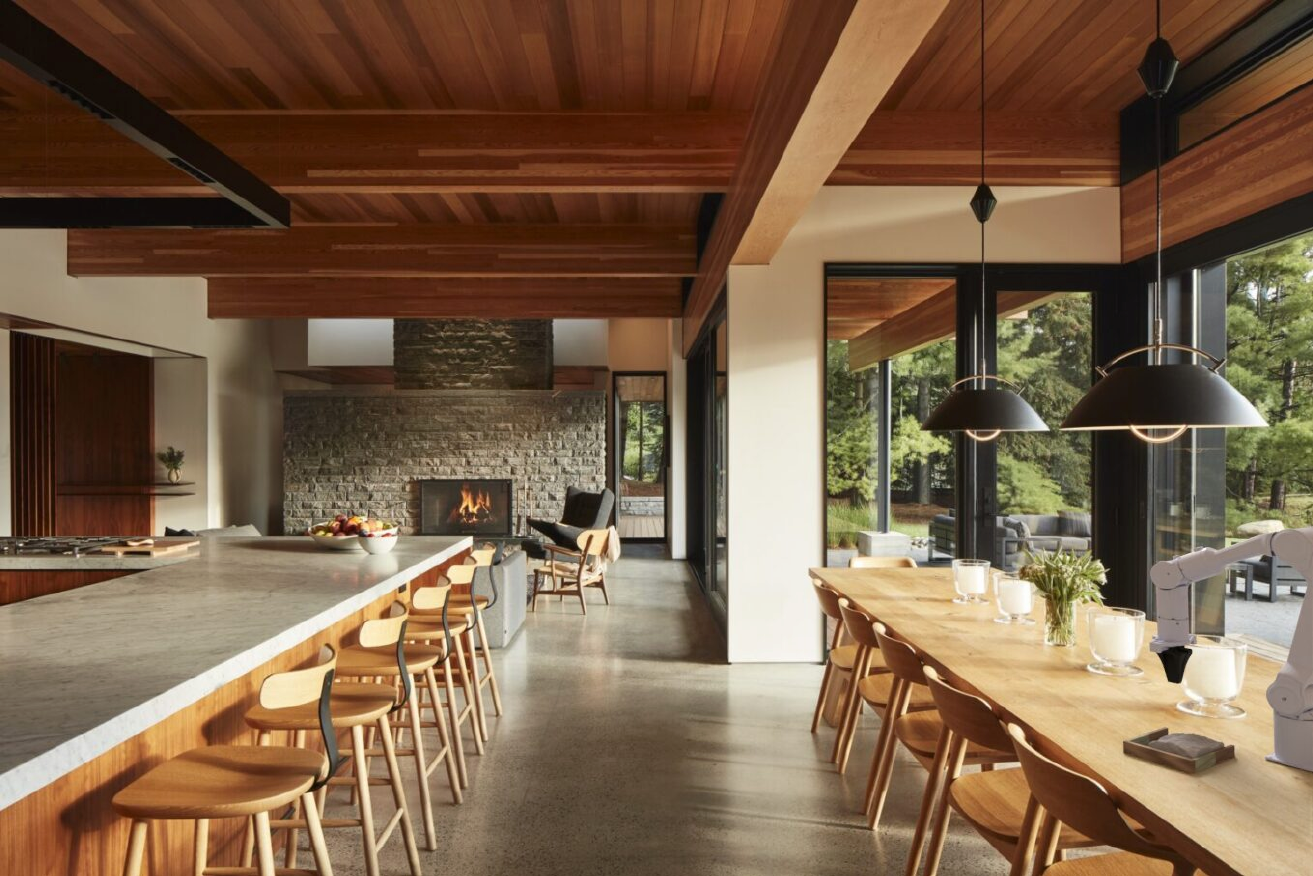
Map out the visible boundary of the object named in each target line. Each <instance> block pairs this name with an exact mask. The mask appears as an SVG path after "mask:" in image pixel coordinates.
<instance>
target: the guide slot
mask: <svg viewBox="0 0 1313 876" xmlns="http://www.w3.org/2000/svg"><path fill="white" fill-rule="evenodd" d="M1166 735H1170V733H1169V727H1165V726H1164V727H1161V728H1158V729H1156V730H1152V731H1150V732H1147V733H1143V734H1140V735H1138V736H1134V737H1131V738H1127V739H1125V740H1123V741H1122V752H1123V753H1124V754H1127V755H1130V756H1135V757H1137V758H1140V759H1144V760H1147V761H1151V762H1154V763H1158V764H1161V765H1162V766H1163V765H1164V766H1168V767H1171V768H1173V769H1177V770H1181V771H1184V772H1187V773H1191V774H1195V773H1198V772H1201V771H1202V770H1205V769H1208V768H1210V767H1213V766H1215V765H1218V764H1221V763H1223V762H1227V761H1228V760H1231V759H1233V758H1235V757H1236V753H1235V752H1236V751H1235V745H1234V744H1229V745H1226V746H1224V747H1223V748H1221V749H1218V750H1215V751H1213V752H1210V753H1207V754H1204V755H1202V756H1199V757H1196V758H1194V759H1190V758H1186V757H1183V756H1179V755H1176V754H1172V753H1169V752H1165V751H1162V750H1158V749H1155V748H1152V747H1148V745H1149V742H1151V741H1158V740H1159V739H1160V738H1161V737H1163V736H1166Z"/></svg>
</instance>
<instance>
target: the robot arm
mask: <svg viewBox="0 0 1313 876" xmlns="http://www.w3.org/2000/svg"><path fill="white" fill-rule="evenodd" d="M1261 555H1264V556H1267V557H1271V558H1273V557H1277V558H1278V559H1279V560H1280V561H1282V562H1283V563H1285V564H1286V565H1288V566H1290V567H1291V568H1293V569H1294V570H1295V571H1297V572H1298V573H1299V574H1300V575H1301V577H1302V578H1303V579H1304V580H1305V581H1306V583H1307V586H1306V590H1305V594H1304V597H1303V601H1302V605H1301V608H1300V612H1299V616H1298V619H1297V622H1296V626H1295V630H1294V633H1293V636H1292V641H1291V644H1290V647H1289V650H1288V655H1287V659H1286V662H1285V663H1284V664H1283V665H1282V666H1281V668H1280V670H1279V671H1278V672H1277V673H1276V675H1277V676H1276V678H1275V680H1273V682H1271V684H1269V685H1268V687H1267V688H1266V691H1265V697H1266V701H1267V703H1268V705H1269V706H1270V707H1271V709H1272V710H1273V712H1272V716H1273V743H1274V744H1273V745H1274V749H1273V750H1274V752H1272V753H1270V754H1267V755H1265V756H1264V759H1265V760H1267V761H1272V762H1275V763H1278V764H1279V763H1280V764H1282V765H1286V766H1290V767H1293V768H1298V769H1301V770H1304V771H1308V772H1311V773H1313V525H1312V526H1311V525H1309V526H1304V527H1299V528H1285V529H1284V528H1283V529H1281V530H1280V531H1278V530H1277V531H1274V532H1266V533H1262V534H1258V535H1255V536H1252V537H1250V538H1248V539H1245V540H1243V541H1240V542H1237V543H1234V544H1232V545H1228V546H1227V547H1223V548H1221V549H1215V548H1213V547H1207V546H1205V547H1204V546H1202V545H1201V546H1198V547H1193V551H1192V552H1189V553H1187V554H1183V555H1180V554H1176V555H1173V556H1172V560H1160V561H1158V562H1157V563H1155V564H1154V565H1152V566H1151V569H1150V571H1149V576H1150V577H1149V578H1150V580H1151V582H1152V583H1153V585H1155V592H1156V598H1155V599H1156V623H1157V624H1156V630H1157V631H1156V632H1157V634H1154V635H1152V636H1151V638H1152V641H1149V652H1153V653H1156V655H1157V656H1158V658H1159V660H1160V661H1161V664H1162V667H1163V669H1164V672H1165V677H1166V680H1167V682H1168V683H1172V684H1176V685H1177V684H1178V685H1179V684H1182V681H1183V678H1184V674H1185V671H1186V668H1187V663H1188V662H1189V660H1190V658H1191V656H1192V655H1193V652H1194V651H1193V649H1192V648H1189V647H1185V646H1189V645H1194V646H1195V645H1197V644H1198V643H1197V642H1198V640H1197V639H1198V637H1197V635H1196V634H1192V633H1190V619H1189V616H1190V615H1189V594H1188V593H1189V586H1190V585H1191V584H1193V583H1197V582H1199V581H1202V580H1205V579H1209V578H1212V577H1215V576H1219V575H1222V574H1223V573H1224V571H1225V570H1226V567H1227V565H1231V564H1234V563H1237V562H1241V561H1244V560H1248V559H1251V558H1255V557H1258V556H1261Z"/></svg>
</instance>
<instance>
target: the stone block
mask: <svg viewBox="0 0 1313 876" xmlns="http://www.w3.org/2000/svg"><path fill="white" fill-rule="evenodd" d="M1148 747H1152V748H1155V749H1158V750H1162V751H1165V752H1169V753H1172V754H1176V755H1179V756H1183V757H1186V758H1190V759H1194V758H1196V757H1199V756H1202V755H1204V754H1207V753H1210V752H1213V751H1215V750H1218V749H1221V748H1223V747H1225V743H1224V742H1223V741H1217V740H1215V739H1213V738H1210V737H1208V736H1205V735H1200V734H1198V733H1197V734H1196V733H1183V732H1182V733H1181V732H1174V733H1169V735H1166V736H1163V737H1161V738H1160V739H1159V740H1158V741H1151V742H1149V745H1148Z"/></svg>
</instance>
